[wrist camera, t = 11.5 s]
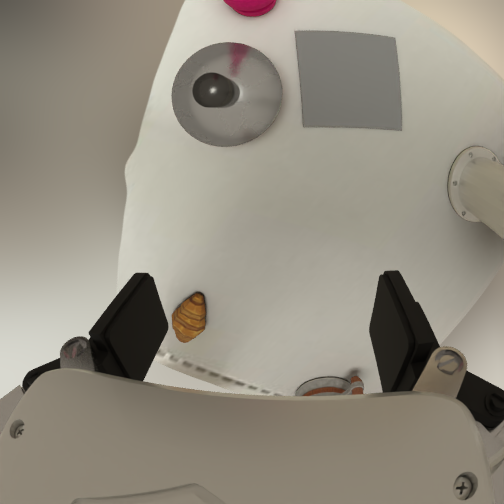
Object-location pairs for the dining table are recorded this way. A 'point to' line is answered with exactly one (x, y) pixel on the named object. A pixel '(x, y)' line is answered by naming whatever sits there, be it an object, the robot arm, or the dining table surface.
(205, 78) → the lid
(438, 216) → the dining table surface
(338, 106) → the mat
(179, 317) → the croissant
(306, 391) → the mug
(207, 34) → the dining table surface
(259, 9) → the pepper mill
